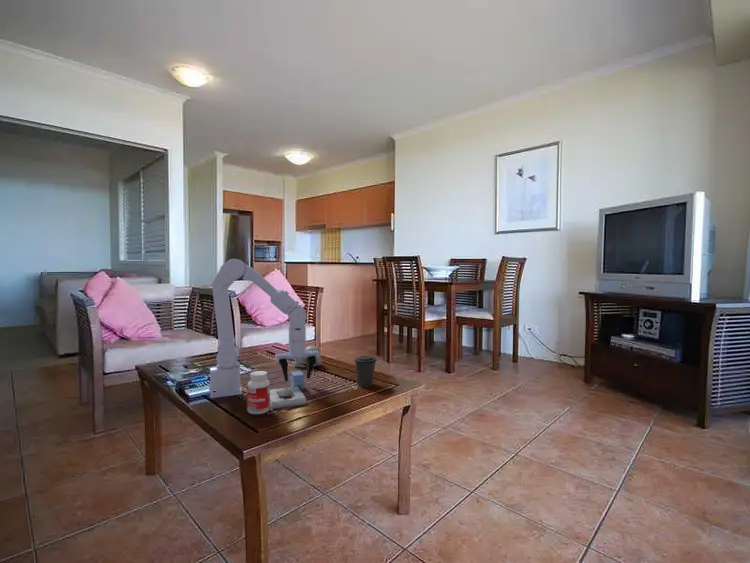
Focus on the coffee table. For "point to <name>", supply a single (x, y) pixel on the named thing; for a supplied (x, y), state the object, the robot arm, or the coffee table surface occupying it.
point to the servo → (297, 379)
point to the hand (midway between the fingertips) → (297, 379)
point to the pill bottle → (258, 393)
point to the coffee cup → (365, 370)
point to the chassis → (283, 392)
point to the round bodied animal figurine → (302, 360)
